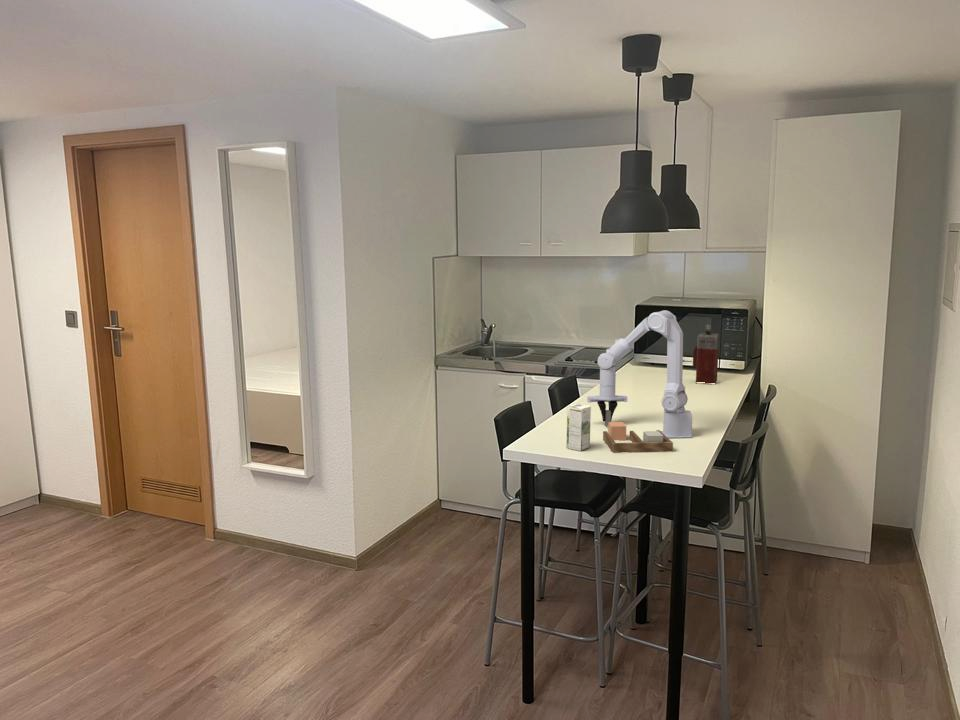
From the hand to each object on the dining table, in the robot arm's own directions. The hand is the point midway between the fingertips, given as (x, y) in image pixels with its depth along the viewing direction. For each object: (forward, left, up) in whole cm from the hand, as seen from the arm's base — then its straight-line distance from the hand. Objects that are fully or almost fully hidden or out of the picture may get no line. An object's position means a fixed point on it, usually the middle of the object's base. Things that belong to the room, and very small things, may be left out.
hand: (607, 420), depth 271 cm
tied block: (0, +10, -2) cm, 10 cm away
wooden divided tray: (-5, +27, -2) cm, 27 cm away
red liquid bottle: (-64, -81, -2) cm, 103 cm away
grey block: (-9, +30, -2) cm, 31 cm away
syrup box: (+15, +29, -2) cm, 33 cm away
